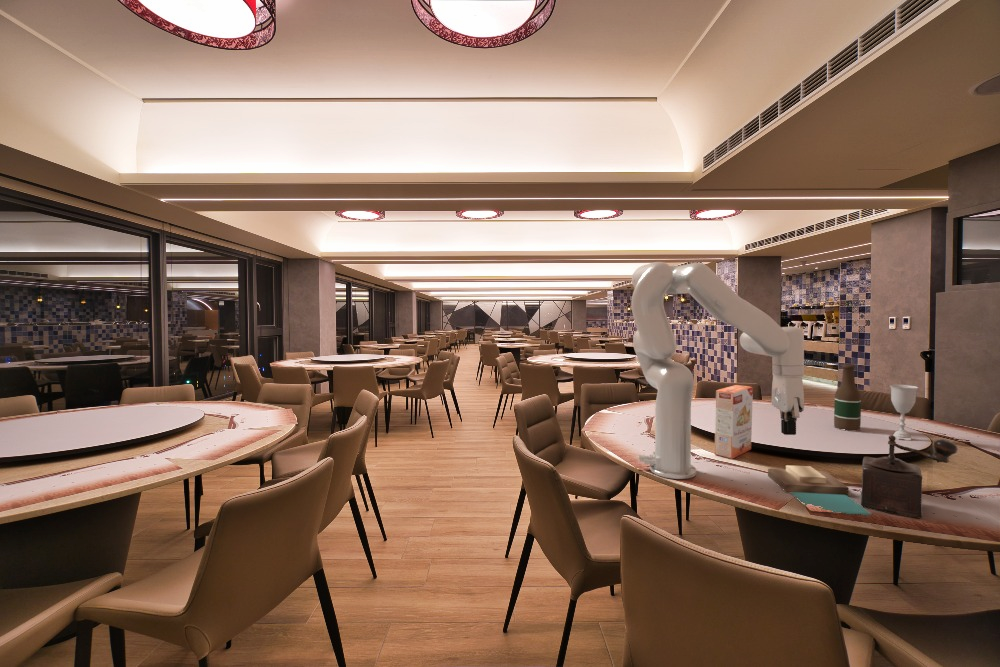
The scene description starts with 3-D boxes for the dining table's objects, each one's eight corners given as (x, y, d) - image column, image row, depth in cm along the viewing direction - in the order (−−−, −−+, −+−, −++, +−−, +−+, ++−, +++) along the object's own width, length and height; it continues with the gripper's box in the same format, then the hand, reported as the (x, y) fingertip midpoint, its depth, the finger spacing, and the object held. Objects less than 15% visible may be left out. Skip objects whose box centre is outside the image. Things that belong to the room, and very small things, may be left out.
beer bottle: (858, 427, 166) (860, 363, 164) (862, 432, 159) (863, 366, 158) (832, 424, 170) (834, 362, 168) (835, 429, 163) (836, 365, 162)
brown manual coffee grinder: (860, 507, 102) (862, 431, 101) (861, 491, 111) (863, 421, 110) (956, 528, 92) (959, 444, 91) (948, 508, 101) (952, 431, 100)
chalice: (892, 440, 150) (894, 387, 149) (884, 434, 156) (885, 384, 155) (920, 442, 147) (922, 388, 146) (910, 436, 153) (912, 385, 152)
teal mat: (810, 511, 101) (810, 510, 101) (790, 493, 111) (790, 491, 111) (870, 515, 99) (870, 513, 99) (845, 496, 109) (845, 494, 108)
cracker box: (733, 460, 135) (734, 392, 133) (713, 455, 139) (714, 389, 138) (753, 449, 143) (753, 386, 142) (733, 445, 148) (734, 383, 147)
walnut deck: (785, 492, 111) (785, 484, 111) (768, 475, 122) (768, 468, 122) (848, 495, 109) (848, 487, 109) (824, 478, 120) (824, 471, 119)
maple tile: (799, 482, 113) (799, 476, 112) (785, 470, 120) (785, 465, 120) (826, 483, 111) (826, 477, 111) (810, 471, 119) (810, 466, 119)
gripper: (763, 367, 133) (763, 426, 135) (785, 375, 119) (785, 442, 120) (790, 366, 132) (791, 426, 133) (816, 374, 117) (816, 442, 119)
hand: (788, 433), depth 127 cm, fingers closed
